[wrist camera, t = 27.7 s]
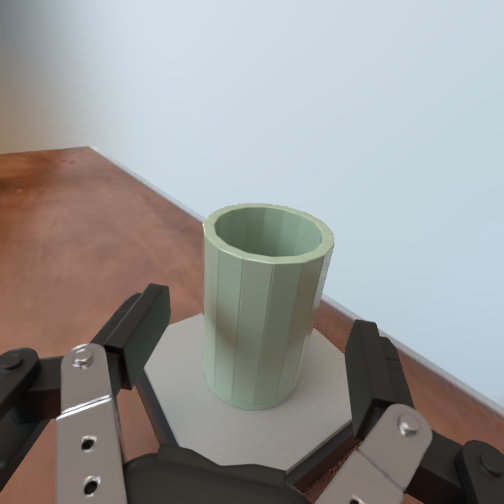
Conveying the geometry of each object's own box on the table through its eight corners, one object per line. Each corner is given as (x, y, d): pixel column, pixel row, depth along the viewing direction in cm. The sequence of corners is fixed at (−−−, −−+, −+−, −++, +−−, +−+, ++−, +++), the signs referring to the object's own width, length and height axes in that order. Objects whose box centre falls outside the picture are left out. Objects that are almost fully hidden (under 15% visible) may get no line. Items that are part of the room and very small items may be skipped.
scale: (266, 308, 30) (270, 282, 28) (383, 421, 21) (397, 393, 19) (127, 366, 23) (122, 336, 21) (211, 572, 14) (213, 548, 12)
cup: (261, 318, 24) (278, 196, 19) (320, 378, 20) (361, 242, 14) (186, 351, 21) (181, 214, 15) (236, 432, 16) (252, 279, 11)
